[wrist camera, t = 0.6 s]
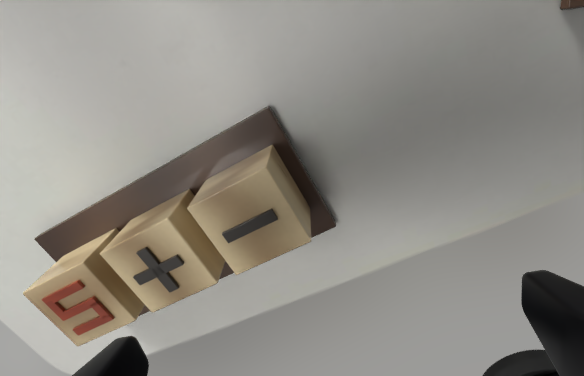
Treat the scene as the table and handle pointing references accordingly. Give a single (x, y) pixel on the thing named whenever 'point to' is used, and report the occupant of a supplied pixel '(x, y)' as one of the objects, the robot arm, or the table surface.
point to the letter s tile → (85, 294)
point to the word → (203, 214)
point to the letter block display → (571, 4)
